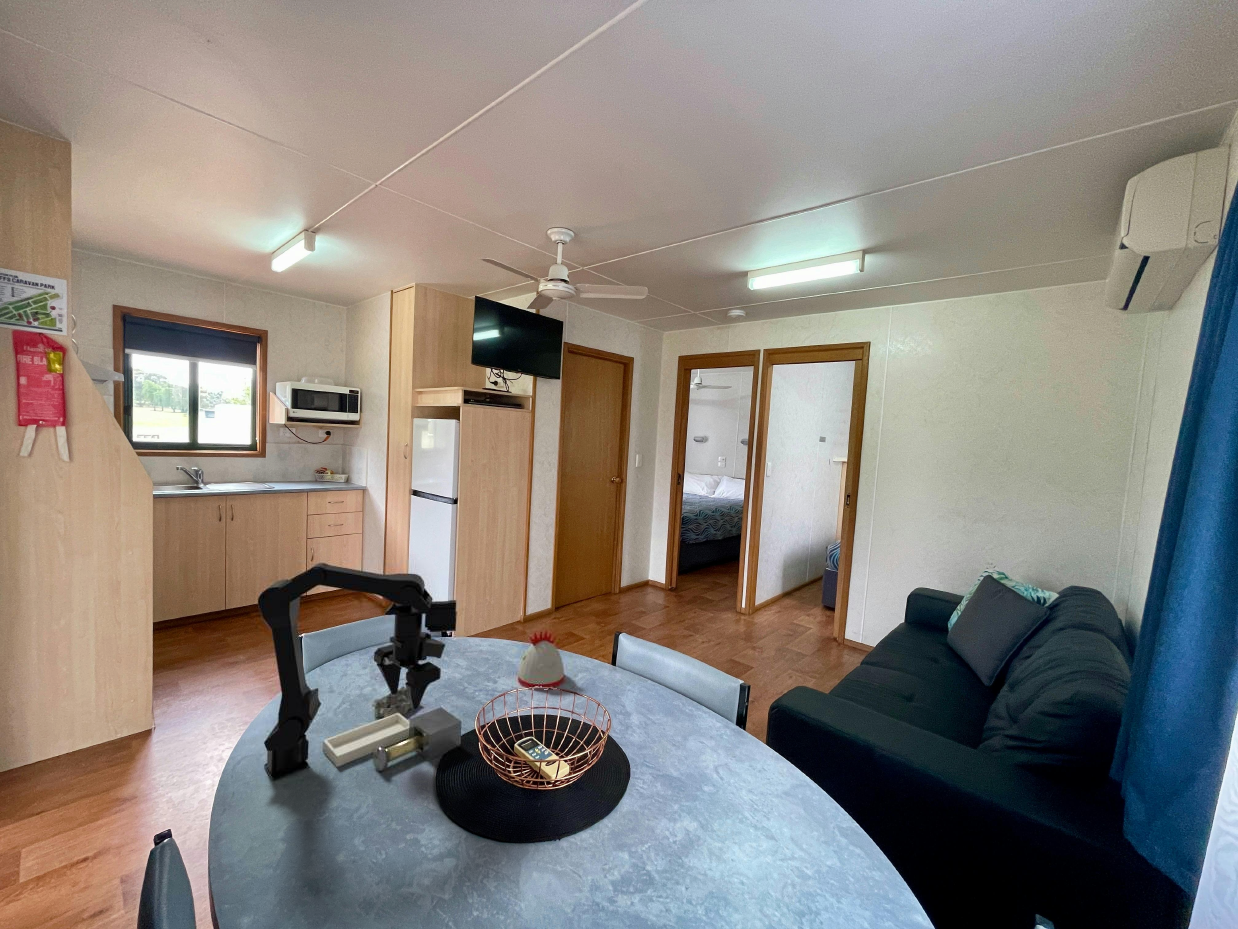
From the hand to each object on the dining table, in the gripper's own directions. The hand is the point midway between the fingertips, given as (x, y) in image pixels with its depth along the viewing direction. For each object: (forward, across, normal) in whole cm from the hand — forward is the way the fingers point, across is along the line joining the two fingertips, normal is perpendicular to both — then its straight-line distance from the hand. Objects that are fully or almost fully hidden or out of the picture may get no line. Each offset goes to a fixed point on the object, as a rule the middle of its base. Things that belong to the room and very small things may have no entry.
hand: (404, 701), depth 113 cm
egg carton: (+13, +19, -8) cm, 24 cm away
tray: (+12, +10, +3) cm, 16 cm away
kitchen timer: (+12, +6, -47) cm, 49 cm away
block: (+12, -2, -7) cm, 14 cm away
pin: (+12, -2, 0) cm, 12 cm away
